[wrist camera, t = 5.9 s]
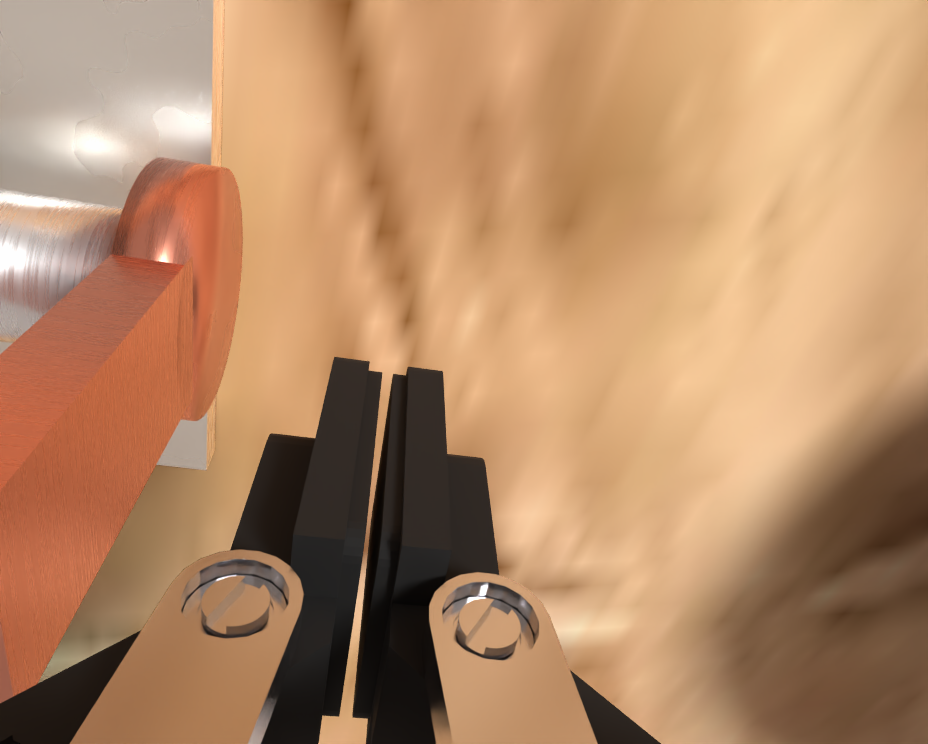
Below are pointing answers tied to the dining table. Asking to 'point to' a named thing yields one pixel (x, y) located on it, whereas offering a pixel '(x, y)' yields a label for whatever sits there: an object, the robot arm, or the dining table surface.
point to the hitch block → (111, 112)
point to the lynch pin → (100, 376)
